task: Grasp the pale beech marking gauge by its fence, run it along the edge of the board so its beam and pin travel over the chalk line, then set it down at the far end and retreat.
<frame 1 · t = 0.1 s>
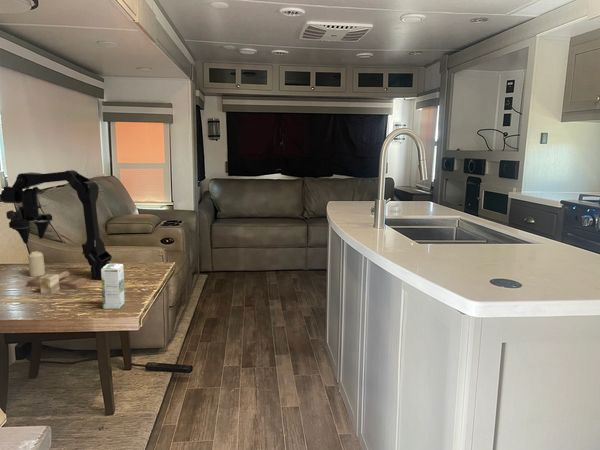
hand: (33, 241, 185), 15 cm above the table, tool pointing down, fingers open, 9 cm apart
board: (57, 284, 176), on the table
syrup box: (114, 306, 155), on the table
candle: (37, 275, 188), on the table
gauge: (50, 291, 168), on the table
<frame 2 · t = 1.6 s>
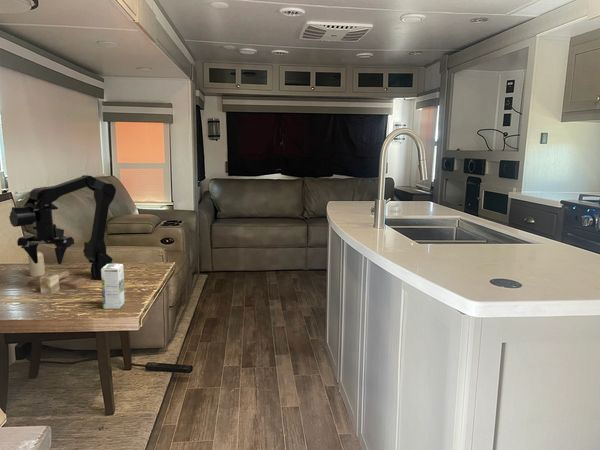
hand: (48, 263, 167), 11 cm above the table, tool pointing down, fingers open, 9 cm apart
nothing on the table moved.
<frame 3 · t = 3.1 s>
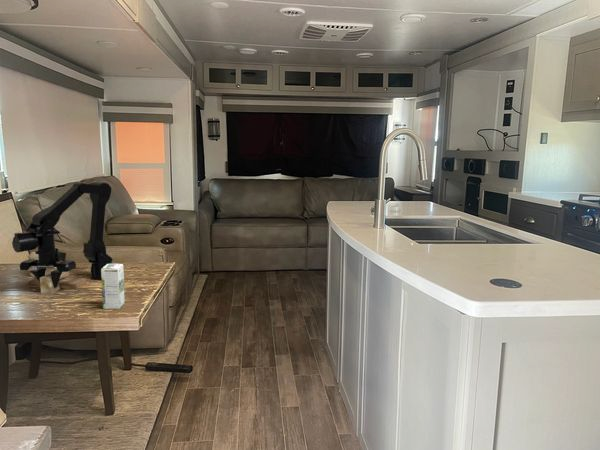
hand: (50, 287, 168), 2 cm above the table, tool pointing down, fingers closed on gauge, 4 cm apart
gauge: (50, 291, 168), on the table, touching gripper
everything else where it was.
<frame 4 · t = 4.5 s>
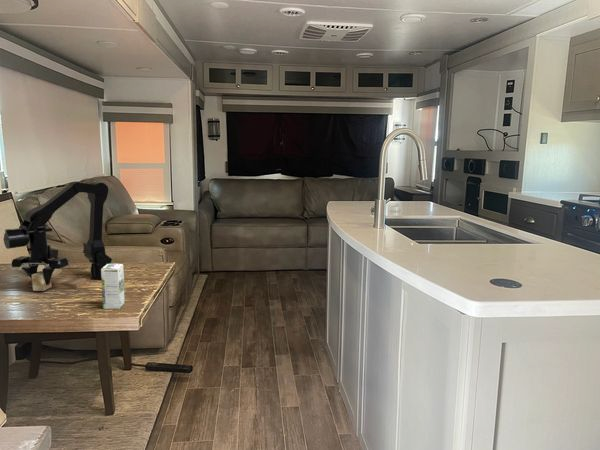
hand: (42, 284, 168), 3 cm above the table, tool pointing down, fingers closed on gauge, 4 cm apart
gauge: (42, 288, 168), point 1 cm above the table, touching gripper
everything else where it was.
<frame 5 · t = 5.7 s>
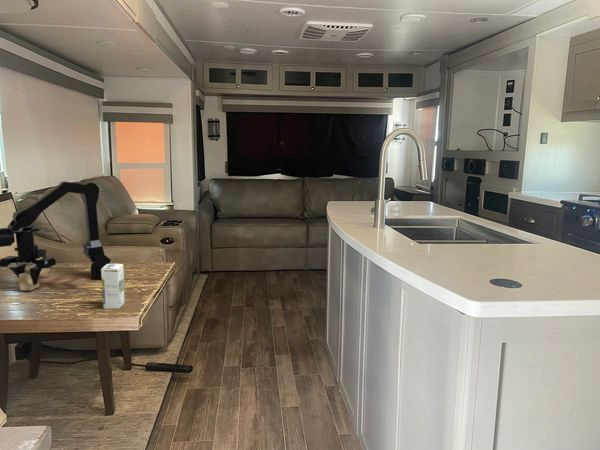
hand: (29, 284, 169), 2 cm above the table, tool pointing down, fingers closed on gauge, 4 cm apart
gauge: (30, 288, 169), point 1 cm above the table, touching gripper
everything else where it was.
when the fingers open (2 cm above the table, at t = 6.3 s): gauge stays where it is, on the table.
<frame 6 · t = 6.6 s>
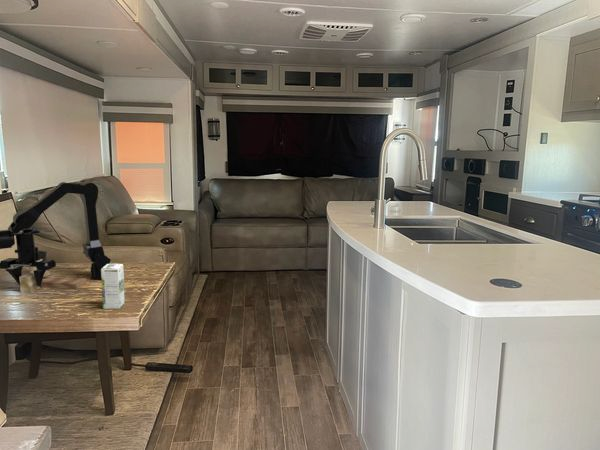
hand: (30, 286, 169), 2 cm above the table, tool pointing down, fingers open, 7 cm apart
gauge: (30, 290, 169), on the table
everything else where it was.
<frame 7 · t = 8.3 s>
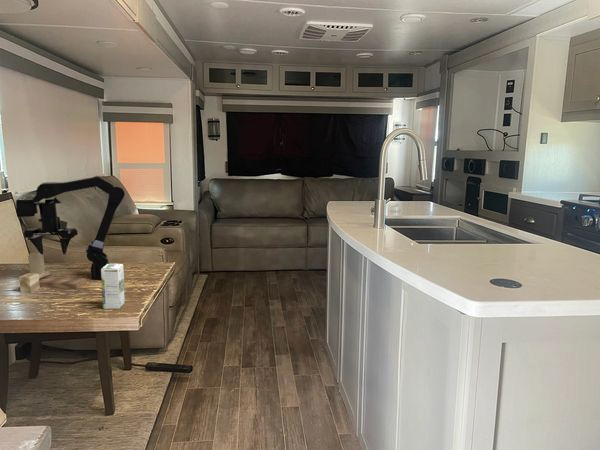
hand: (53, 254, 177), 12 cm above the table, tool pointing down, fingers open, 9 cm apart
nothing on the table moved.
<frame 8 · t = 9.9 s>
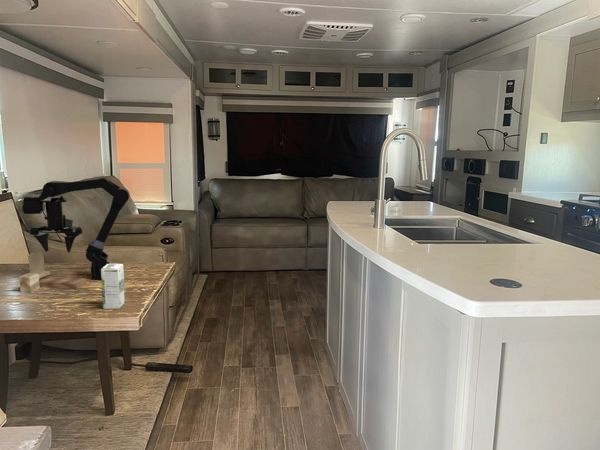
hand: (57, 251, 179), 12 cm above the table, tool pointing down, fingers open, 9 cm apart
nothing on the table moved.
at the end: gauge 0.5 cm from the target spot, on the table; gauge tilted 0°; the gripper is holding nothing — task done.
